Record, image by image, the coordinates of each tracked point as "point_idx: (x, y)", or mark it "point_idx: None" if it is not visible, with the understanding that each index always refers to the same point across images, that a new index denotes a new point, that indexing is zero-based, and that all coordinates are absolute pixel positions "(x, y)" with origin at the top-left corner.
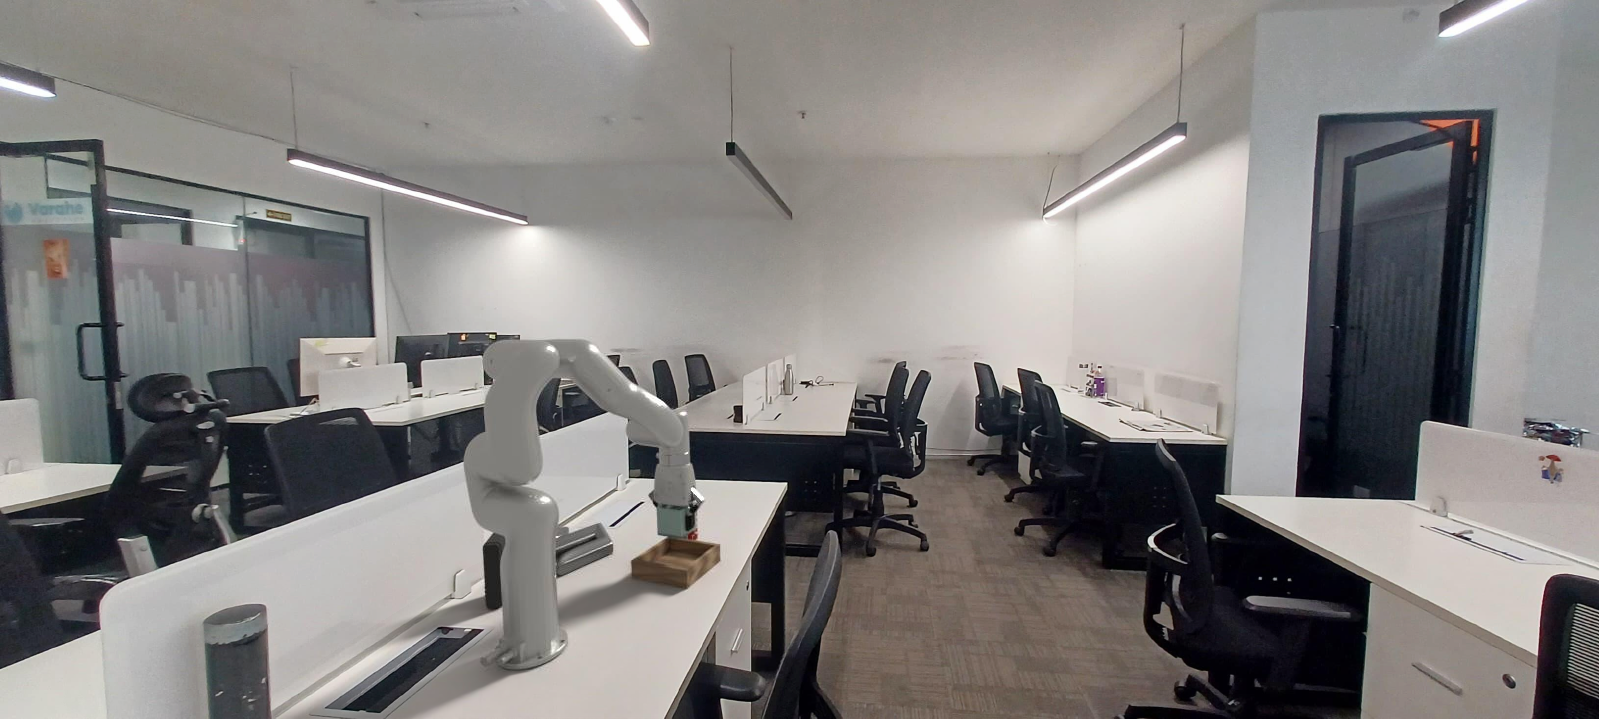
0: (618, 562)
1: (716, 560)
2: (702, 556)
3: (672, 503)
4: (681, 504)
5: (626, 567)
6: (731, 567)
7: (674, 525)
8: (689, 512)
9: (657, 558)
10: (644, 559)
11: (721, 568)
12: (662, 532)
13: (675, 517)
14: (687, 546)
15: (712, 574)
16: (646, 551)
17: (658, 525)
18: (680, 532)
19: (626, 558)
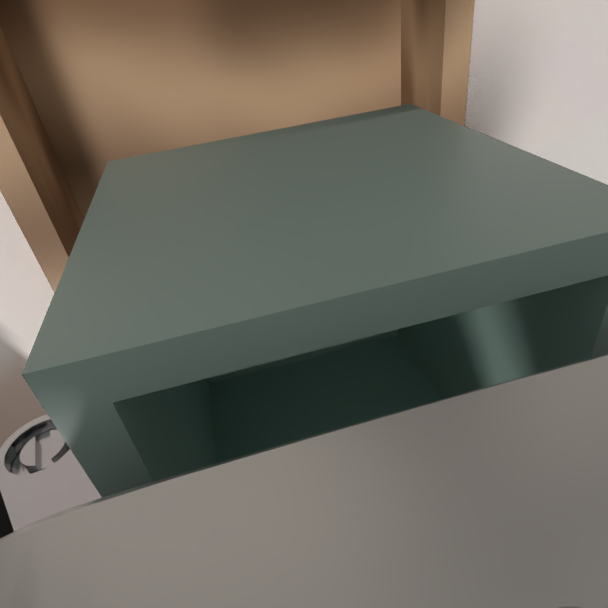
0: (594, 42)
1: None
2: (38, 231)
3: (356, 461)
4: (31, 562)
5: (523, 12)
6: (4, 322)
7: (202, 192)
8: (35, 468)
9: None
10: (426, 25)
11: (38, 287)
12: (361, 121)
13: (182, 252)
14: None
15: (10, 211)
16: (458, 80)
17: (447, 130)
18: (108, 182)
19: (573, 105)
